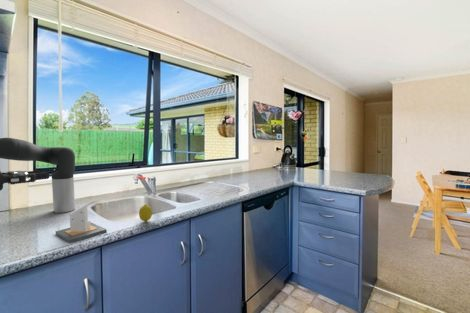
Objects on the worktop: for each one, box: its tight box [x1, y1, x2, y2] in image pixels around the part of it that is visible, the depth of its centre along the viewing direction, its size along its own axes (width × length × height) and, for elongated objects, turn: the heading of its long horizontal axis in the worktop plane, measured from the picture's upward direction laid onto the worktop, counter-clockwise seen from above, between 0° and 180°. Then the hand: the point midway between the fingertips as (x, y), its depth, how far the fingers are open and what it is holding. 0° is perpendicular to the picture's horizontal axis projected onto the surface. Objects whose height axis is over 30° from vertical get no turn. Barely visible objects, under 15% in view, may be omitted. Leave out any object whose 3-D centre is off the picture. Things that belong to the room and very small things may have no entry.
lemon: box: [138, 204, 153, 223], centre depth 109 cm, size 6×6×8 cm
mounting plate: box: [55, 221, 108, 244], centre depth 96 cm, size 14×13×1 cm
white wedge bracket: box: [69, 205, 92, 232], centre depth 96 cm, size 4×10×9 cm
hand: (44, 174), depth 87 cm, fingers open, 8 cm apart
